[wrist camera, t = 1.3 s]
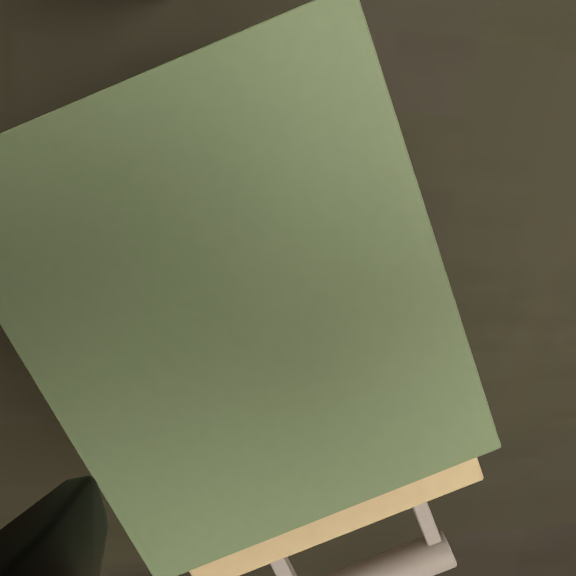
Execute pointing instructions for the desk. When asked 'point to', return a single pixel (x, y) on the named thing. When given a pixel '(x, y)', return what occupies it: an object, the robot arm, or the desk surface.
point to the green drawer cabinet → (237, 290)
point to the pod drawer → (379, 568)
